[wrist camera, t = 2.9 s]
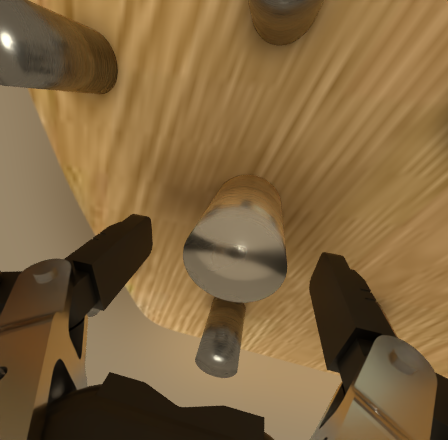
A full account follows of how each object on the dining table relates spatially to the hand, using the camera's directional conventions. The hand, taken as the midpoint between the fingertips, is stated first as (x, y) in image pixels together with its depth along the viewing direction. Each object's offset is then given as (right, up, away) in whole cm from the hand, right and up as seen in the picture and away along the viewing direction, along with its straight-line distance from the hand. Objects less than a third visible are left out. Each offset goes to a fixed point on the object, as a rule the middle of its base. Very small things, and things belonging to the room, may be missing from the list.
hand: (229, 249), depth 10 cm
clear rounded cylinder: (+1, +2, +4) cm, 5 cm away
